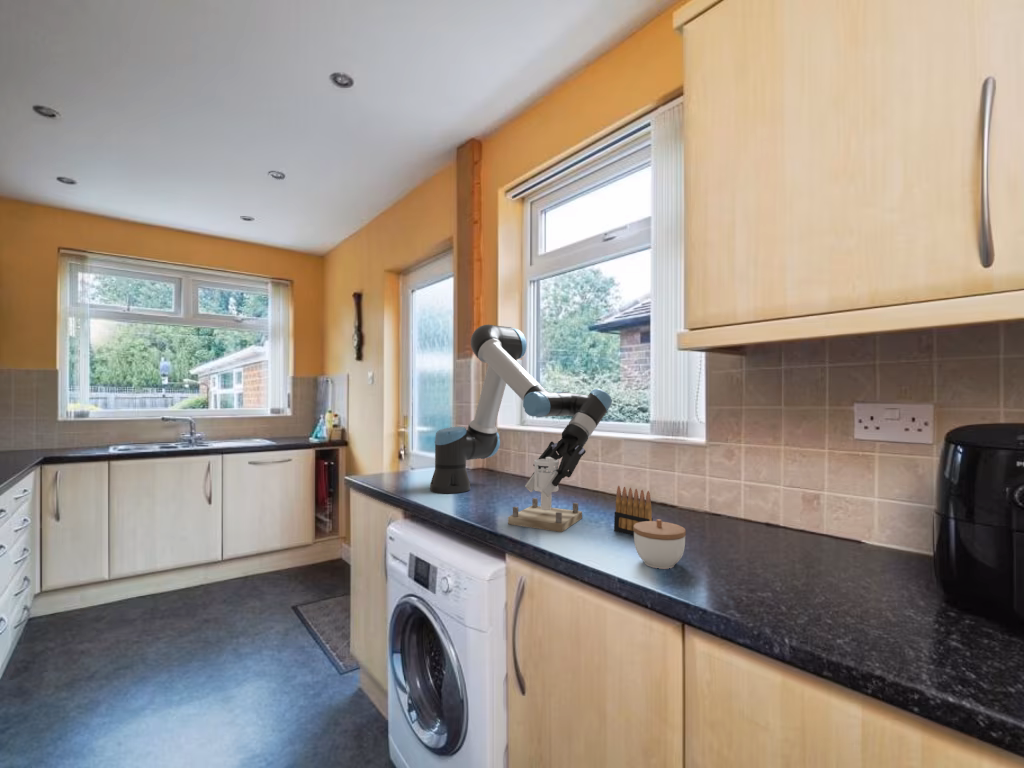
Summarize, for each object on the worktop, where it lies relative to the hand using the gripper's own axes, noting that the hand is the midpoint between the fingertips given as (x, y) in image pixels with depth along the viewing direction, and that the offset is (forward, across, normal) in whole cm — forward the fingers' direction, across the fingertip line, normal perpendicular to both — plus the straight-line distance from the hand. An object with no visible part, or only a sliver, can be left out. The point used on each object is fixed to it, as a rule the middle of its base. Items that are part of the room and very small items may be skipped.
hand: (536, 491), depth 133 cm
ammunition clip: (-3, -23, -16) cm, 28 cm away
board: (+4, 0, -9) cm, 10 cm away
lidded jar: (+6, -40, -7) cm, 41 cm away
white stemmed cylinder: (+2, 0, -6) cm, 7 cm away
